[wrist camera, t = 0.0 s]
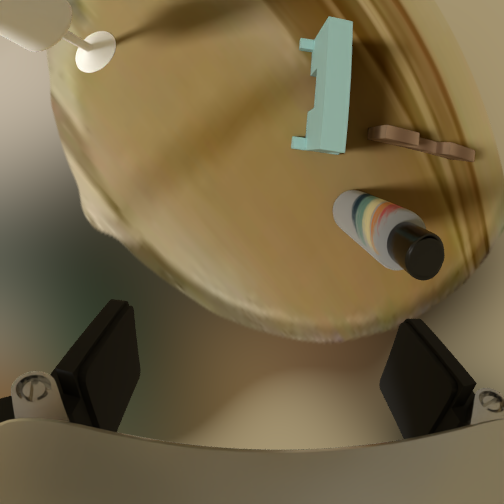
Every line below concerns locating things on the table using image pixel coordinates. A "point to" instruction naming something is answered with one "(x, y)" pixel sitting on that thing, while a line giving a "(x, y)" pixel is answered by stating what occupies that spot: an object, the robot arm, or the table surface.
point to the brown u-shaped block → (419, 143)
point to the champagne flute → (53, 31)
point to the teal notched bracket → (329, 88)
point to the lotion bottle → (389, 234)
